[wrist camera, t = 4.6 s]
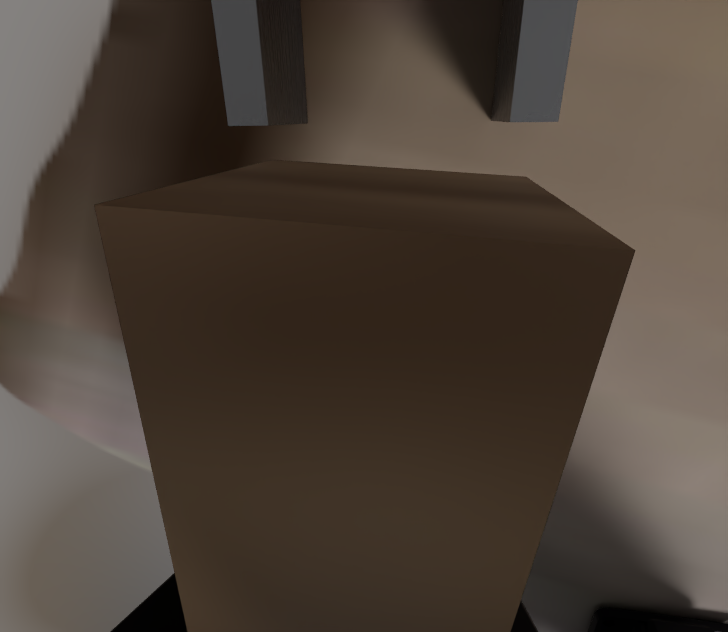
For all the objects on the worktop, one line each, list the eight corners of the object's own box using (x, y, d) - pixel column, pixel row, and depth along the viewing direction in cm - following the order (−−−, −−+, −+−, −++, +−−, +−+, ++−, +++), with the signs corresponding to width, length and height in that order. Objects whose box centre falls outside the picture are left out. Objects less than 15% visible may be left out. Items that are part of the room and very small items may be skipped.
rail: (271, 160, 7) (93, 205, 3) (526, 176, 6) (636, 250, 3) (292, 651, 13) (236, 855, 9) (425, 678, 12) (420, 907, 9)
